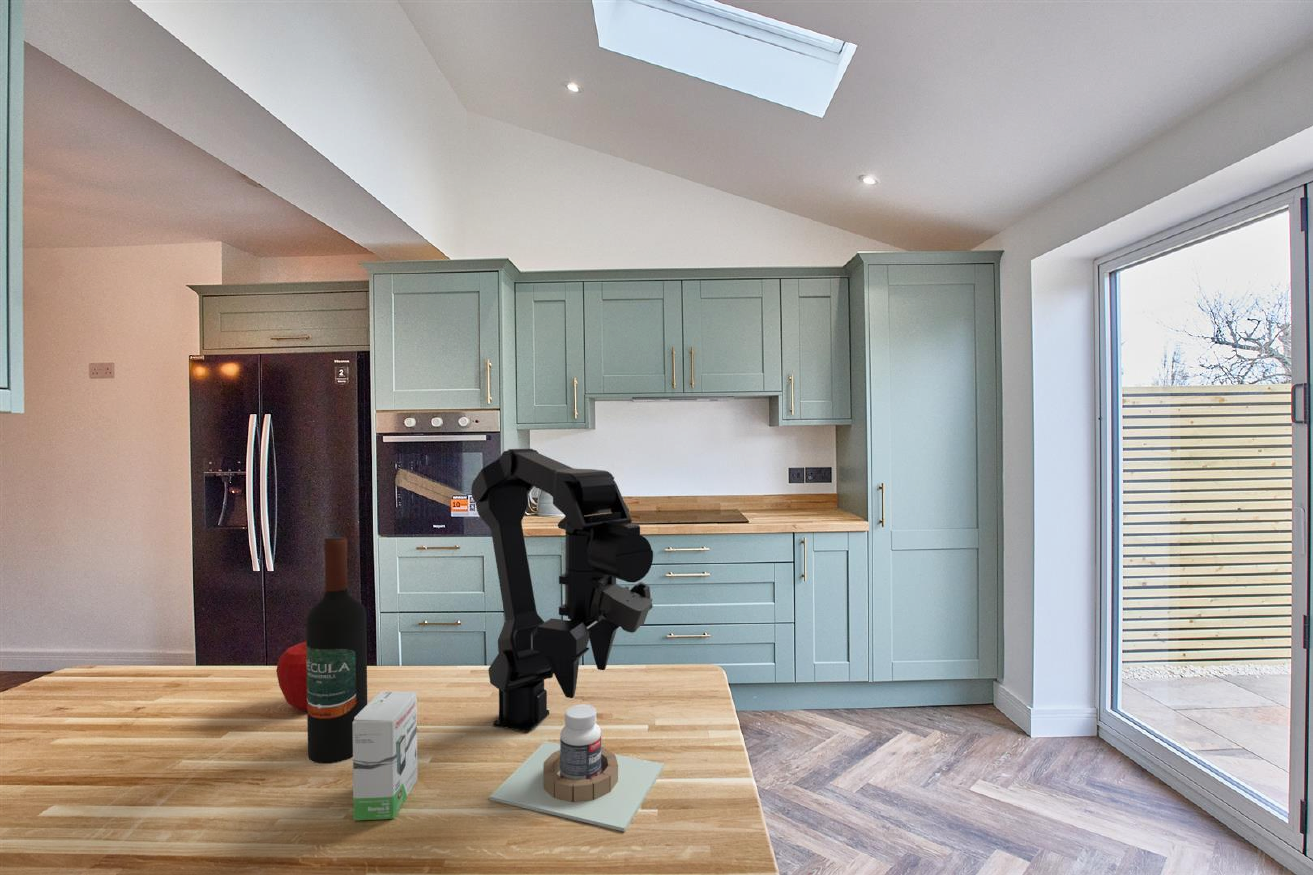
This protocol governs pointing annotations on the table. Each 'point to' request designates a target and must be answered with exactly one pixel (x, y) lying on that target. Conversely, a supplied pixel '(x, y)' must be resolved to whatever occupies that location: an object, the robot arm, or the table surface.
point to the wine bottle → (335, 662)
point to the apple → (294, 676)
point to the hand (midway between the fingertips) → (586, 682)
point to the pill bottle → (580, 744)
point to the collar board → (581, 811)
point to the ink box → (384, 755)
